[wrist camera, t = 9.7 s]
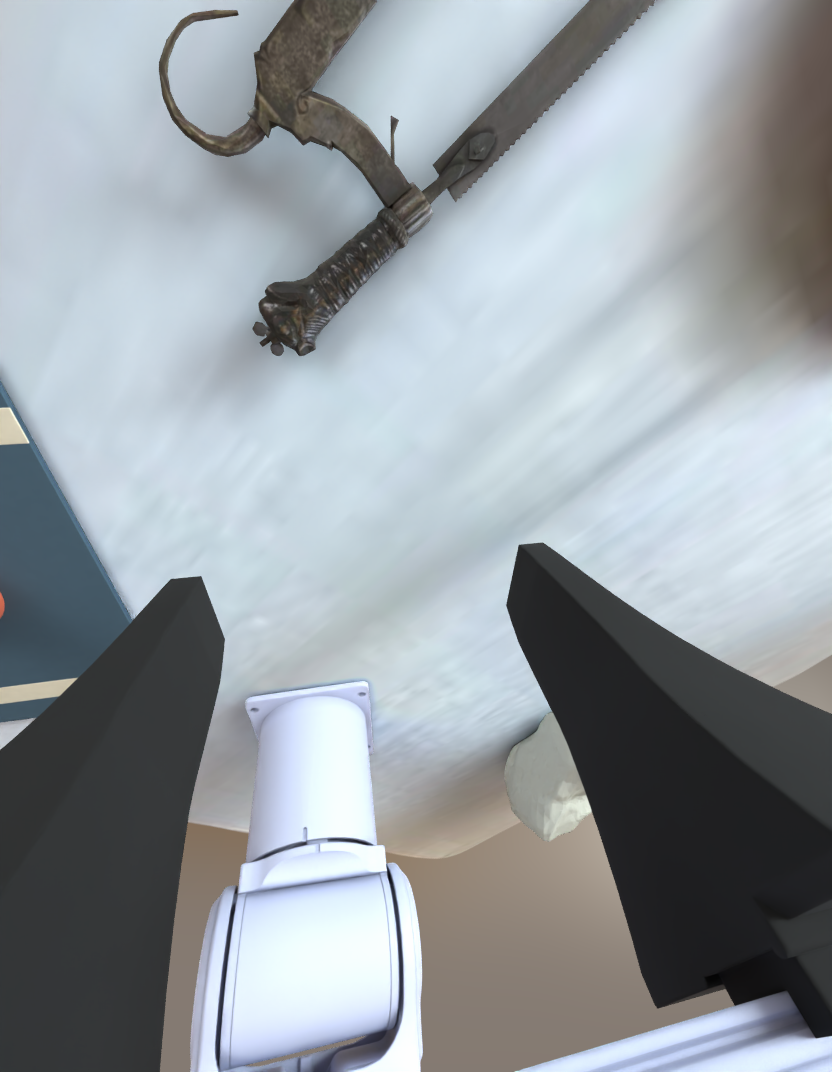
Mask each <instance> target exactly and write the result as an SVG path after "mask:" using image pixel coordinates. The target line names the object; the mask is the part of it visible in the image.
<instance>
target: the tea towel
mask: <svg viewBox="0 0 832 1072" xmlns="http://www.w3.org/2000/svg"><path fill="white" fill-rule="evenodd" d="M0 593H1V594H2V597H3V599H4V613H3V615H2V617H1V619H0V722H8V721H15V720H22V719H29V718H37V717H38V716H39V715H40V714H41V713H43V712H44V711H45V710H46V709H47V708H48V707H49V706H50V705H51V704H52V703H53V702H54V701H55V700H56V699H57V698H58V697H59V696H60V695H61V694H62V693H63V692H64V691H65V690H66V689H67V688H68V687H69V686H70V685H71V684H72V683H73V682H74V681H75V680H76V679H77V678H78V677H79V676H80V675H81V674H83V673H84V672H85V671H86V670H87V669H88V668H89V667H90V666H91V665H92V664H93V663H94V662H95V661H96V660H97V658H98V657H99V656H100V655H101V654H102V653H103V652H104V651H105V650H106V649H107V648H108V647H109V646H110V645H111V644H112V643H113V641H114V640H115V639H116V638H117V637H118V636H119V635H120V634H121V633H122V632H123V631H124V630H125V629H126V628H127V626H128V625H129V624H130V623H131V622H132V619H131V617H130V615H129V614H128V612H127V610H126V608H125V606H124V605H123V603H122V601H121V599H120V597H119V595H118V594H117V592H116V590H115V588H114V586H113V585H112V583H111V581H110V579H109V577H108V575H107V574H106V572H105V570H104V568H103V566H102V565H101V563H100V561H99V559H98V557H97V555H96V554H95V552H94V550H93V548H92V546H91V545H90V543H89V541H88V539H87V537H86V536H85V534H84V532H83V530H82V528H81V526H80V525H79V523H78V521H77V519H76V517H75V516H74V514H73V512H72V510H71V508H70V506H69V505H68V503H67V501H66V499H65V497H64V496H63V494H62V492H61V490H60V488H59V487H58V485H57V483H56V481H55V479H54V477H53V476H52V474H51V472H50V470H49V468H48V467H47V465H46V463H45V461H44V459H43V457H42V456H41V454H40V452H39V450H38V448H37V447H36V445H35V443H34V441H33V439H32V438H31V436H30V434H29V432H28V430H27V428H26V427H25V425H24V423H23V421H22V419H21V418H20V416H19V414H18V412H17V410H16V408H15V407H14V405H13V403H12V401H11V399H10V398H9V396H8V394H7V392H6V390H5V389H4V387H3V385H2V383H1V381H0Z"/></svg>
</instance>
